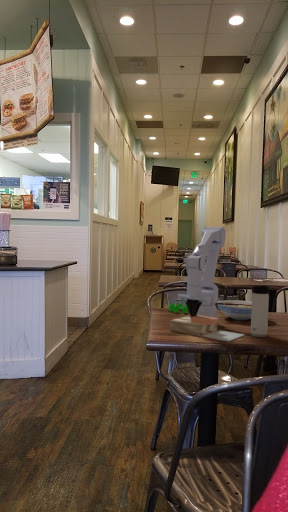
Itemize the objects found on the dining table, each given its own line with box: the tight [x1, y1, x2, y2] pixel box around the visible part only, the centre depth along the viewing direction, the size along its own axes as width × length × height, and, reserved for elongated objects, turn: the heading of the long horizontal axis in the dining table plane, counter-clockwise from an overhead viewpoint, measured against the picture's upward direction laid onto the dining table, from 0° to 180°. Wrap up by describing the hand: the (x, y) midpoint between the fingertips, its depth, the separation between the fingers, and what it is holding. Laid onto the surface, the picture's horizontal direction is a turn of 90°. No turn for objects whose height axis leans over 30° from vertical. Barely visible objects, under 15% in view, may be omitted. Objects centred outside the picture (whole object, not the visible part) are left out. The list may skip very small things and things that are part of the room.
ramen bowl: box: [215, 299, 271, 321], centre depth 192 cm, size 25×23×8 cm
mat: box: [201, 329, 246, 343], centre depth 154 cm, size 14×11×1 cm
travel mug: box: [250, 284, 270, 338], centre depth 157 cm, size 6×7×20 cm
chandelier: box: [167, 299, 190, 315], centre depth 207 cm, size 15×15×7 cm
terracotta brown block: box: [191, 315, 220, 325], centre depth 159 cm, size 6×9×2 cm, turn 51°
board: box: [169, 315, 219, 337], centre depth 163 cm, size 14×14×4 cm
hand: (193, 318), depth 163 cm, fingers closed
